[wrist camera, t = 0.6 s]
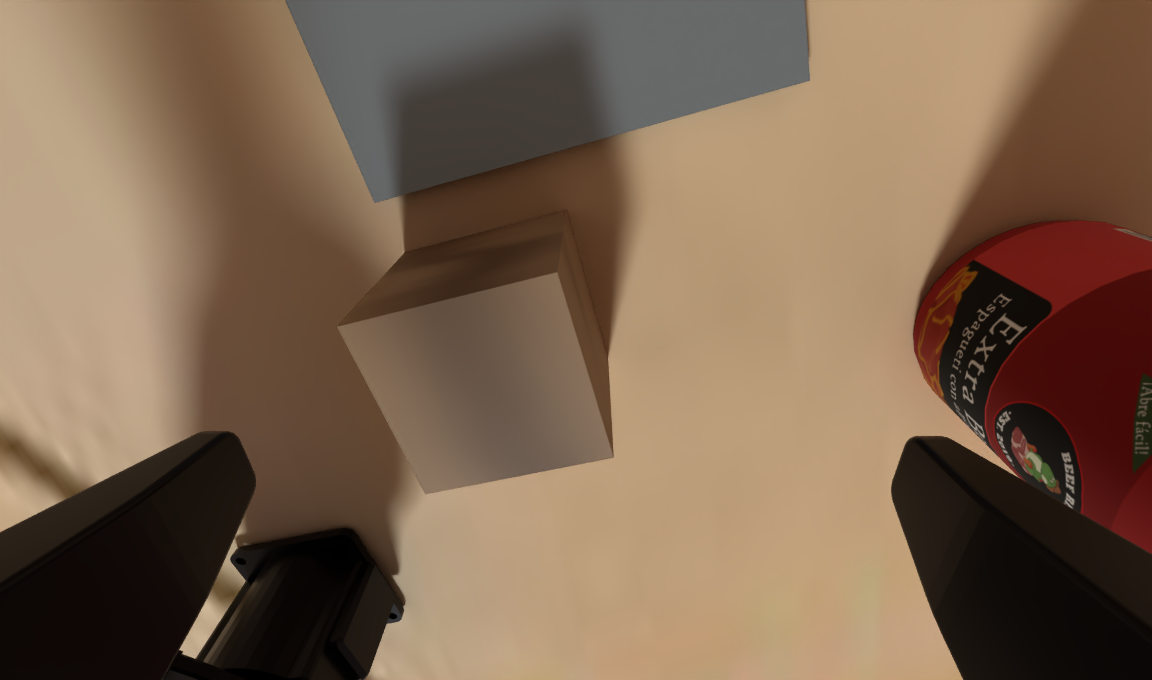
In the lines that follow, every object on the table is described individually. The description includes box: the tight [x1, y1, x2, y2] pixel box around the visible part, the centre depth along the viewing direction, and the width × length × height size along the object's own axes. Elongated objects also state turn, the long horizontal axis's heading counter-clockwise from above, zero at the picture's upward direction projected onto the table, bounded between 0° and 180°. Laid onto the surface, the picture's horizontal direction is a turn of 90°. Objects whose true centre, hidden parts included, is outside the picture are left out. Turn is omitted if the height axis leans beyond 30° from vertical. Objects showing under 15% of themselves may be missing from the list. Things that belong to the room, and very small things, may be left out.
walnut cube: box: [337, 210, 614, 494], centre depth 18 cm, size 6×6×6 cm
